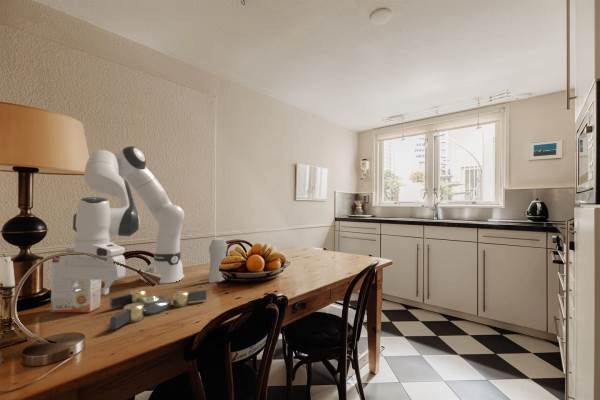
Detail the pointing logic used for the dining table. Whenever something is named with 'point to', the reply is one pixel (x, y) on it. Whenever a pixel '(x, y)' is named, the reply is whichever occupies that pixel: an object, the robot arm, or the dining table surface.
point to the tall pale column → (216, 259)
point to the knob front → (127, 315)
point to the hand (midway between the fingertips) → (90, 293)
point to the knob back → (127, 298)
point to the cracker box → (71, 301)
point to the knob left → (187, 297)
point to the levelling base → (154, 304)
